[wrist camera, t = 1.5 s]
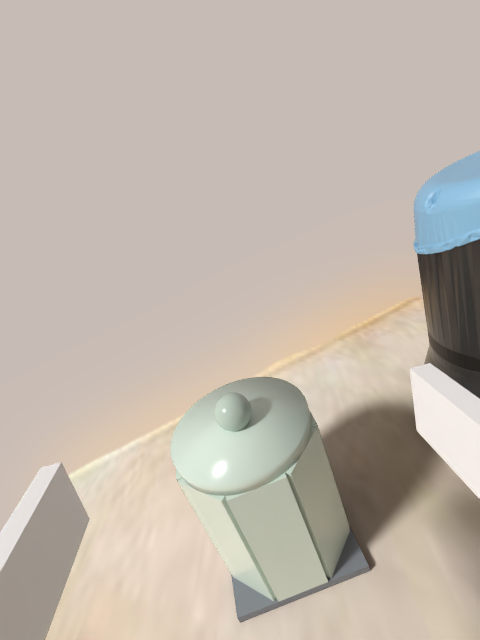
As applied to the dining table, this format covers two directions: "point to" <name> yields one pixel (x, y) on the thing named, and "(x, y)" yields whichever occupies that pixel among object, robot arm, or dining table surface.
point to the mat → (347, 567)
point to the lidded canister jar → (262, 485)
